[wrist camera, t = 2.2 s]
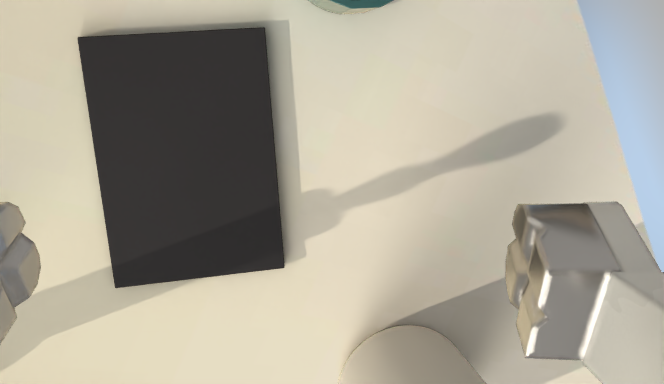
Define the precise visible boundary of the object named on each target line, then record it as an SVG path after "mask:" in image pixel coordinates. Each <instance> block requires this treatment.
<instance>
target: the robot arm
mask: <svg viewBox="0 0 664 384" xmlns="http://www.w3.org/2000/svg"><path fill="white" fill-rule="evenodd" d="M25 223H26V222H25V220H24V218H23V216H22V214H21V211H20V209H19V207H18V206H16V205H14V204H12V203H9V202H0V344H1V342H2V341H3V339H4V337H5V336H6V334H7V333H8V331H9V330H10V328H11V326H12V325H13V323H14V322H15V320H16V319H17V316H16V312H15V308H14V307H16V306H17V305H19V304H20V303H22V302H23V301H25V300H26V299H28V298H29V297H30V296H31V294H32V293H33V291H34V289H35V288H36V286H37V284H38V279H39V274H40V269H41V265H40V257H39V253H38V250H37V248H36V245H35V243H34V242H33V241H31V240H30V239H29V238H28V237H26V236H25V235H24V234H22V233H21V232H22V230H23V227H24V225H25ZM512 226H513V229H514V232H515V235H516V239H515V240H514V241H513V242H512V243H511V244H509V245H508V249H507V256H506V272H505V279H506V286H507V292H508V296H509V300H510V303H511V304H512V305H514V306H515V307H516V308H517V309H518V310H519V312H518V317H517V321H516V326H517V330H518V333H519V337H520V341H521V344H522V348H523V351H524V355H525V358H539V359H563V360H583V361H582V363H583V364H584V365H585V366H586V367H587V369H588V370H589V371H590V372H591V373H592V374H593V375H594V376H595V377H596V378H597V379H598V380H599V381H600V382H601V383H602V384H664V272H661V270H660V268H659V267H658V265H657V263H656V262H655V260H654V258H653V257H652V255H651V253H650V252H649V250H648V248H647V246H646V245H645V243H644V241H643V240H642V238H641V236H640V235H639V233H638V231H637V230H636V228H635V226H634V225H633V223H632V221H631V220H630V218H629V216H628V215H627V213H626V211H625V209H624V208H623V206H622V205H621V204H619V203H618V202H584V203H583V204H518V205H517V207H516V210H515V212H514V217H513V222H512Z"/></svg>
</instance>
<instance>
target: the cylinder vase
mask: <svg viewBox="0 0 664 384" xmlns="http://www.w3.org/2000/svg"><path fill="white" fill-rule="evenodd" d="M338 384H486V383H485V382H484V380H483V379H482V378H481V377H480V376H479V374H478V373H477V372H476V371H475V370H474V368H473V367H472V366H471V365H470V364H469V362H468V361H467V360H466V359H465V358H464V356H463V355H462V354H461V353H460V351H459V350H458V349H457V348H456V347H455V345H454V344H453V343H452V342H451V341H450V340H449V339H447V338H446V337H445V336H443V335H442V334H440V333H438V332H436V331H434V330H432V329H429V328H426V327H422V326H414V325H403V326H396V327H392V328H388V329H385V330H382V331H380V332H378V333H376V334H374V335H372V336H371V337H369V338H368V339H366V340H365V341H364V342H362V343H361V344H360V345H359V346H358V347H357V348H356V349H355V350H354V351H353V353H352V354H351V355H350V356H349V358H348V359H347V361H346V363H345V365H344V367H343V369H342V371H341V374H340V377H339V381H338Z"/></svg>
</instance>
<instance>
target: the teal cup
mask: <svg viewBox="0 0 664 384" xmlns="http://www.w3.org/2000/svg"><path fill="white" fill-rule="evenodd" d="M308 1H309V2H311V3H312V4H314V5H315V6H317V7H319V8H321V9H323V10H326V11H329V12H332V13H337V14H356V13H365V12H368V11H371V10H374V9H377V8H379V7H382V6H384V5H386V4H388V3H390V2H392V1H393V0H308Z"/></svg>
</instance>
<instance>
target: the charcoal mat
mask: <svg viewBox="0 0 664 384" xmlns="http://www.w3.org/2000/svg"><path fill="white" fill-rule="evenodd" d="M78 44H79V51H80V57H81V64H82V71H83V77H84V84H85V91H86V97H87V104H88V111H89V117H90V124H91V131H92V137H93V144H94V150H95V157H96V164H97V170H98V177H99V184H100V190H101V197H102V204H103V210H104V217H105V224H106V230H107V237H108V244H109V250H110V257H111V263H112V270H113V277H114V283H115V288H120V287H129V286H137V285H145V284H154V283H162V282H170V281H179V280H187V279H195V278H204V277H212V276H221V275H229V274H237V273H246V272H254V271H262V270H271V269H279V268H284V255H283V243H282V231H281V219H280V207H279V194H278V182H277V170H276V158H275V146H274V134H273V122H272V110H271V98H270V86H269V74H268V62H267V50H266V38H265V28H264V27H263V28H244V29H225V30H207V31H188V32H169V33H150V34H131V35H113V36H94V37H78Z"/></svg>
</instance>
